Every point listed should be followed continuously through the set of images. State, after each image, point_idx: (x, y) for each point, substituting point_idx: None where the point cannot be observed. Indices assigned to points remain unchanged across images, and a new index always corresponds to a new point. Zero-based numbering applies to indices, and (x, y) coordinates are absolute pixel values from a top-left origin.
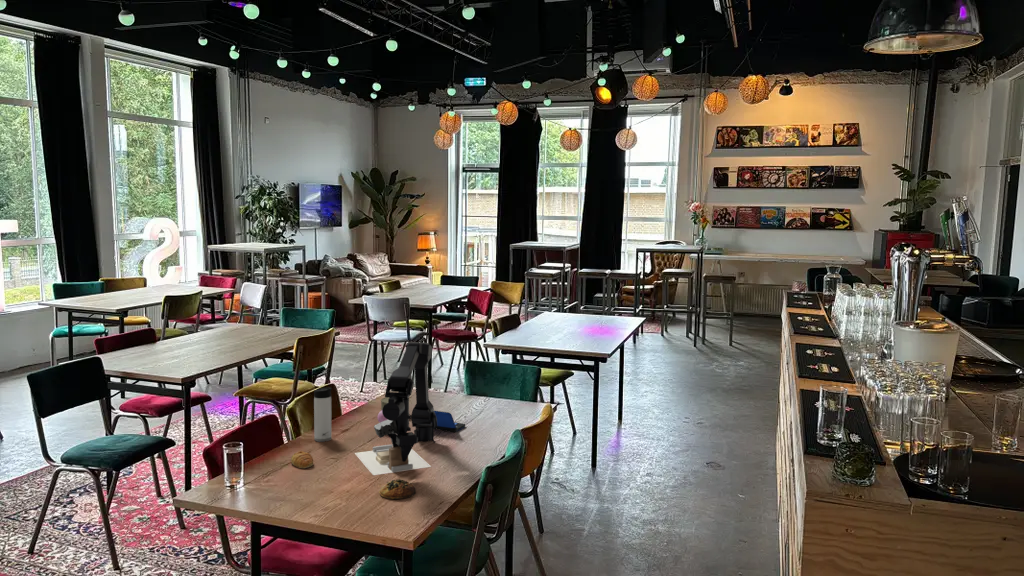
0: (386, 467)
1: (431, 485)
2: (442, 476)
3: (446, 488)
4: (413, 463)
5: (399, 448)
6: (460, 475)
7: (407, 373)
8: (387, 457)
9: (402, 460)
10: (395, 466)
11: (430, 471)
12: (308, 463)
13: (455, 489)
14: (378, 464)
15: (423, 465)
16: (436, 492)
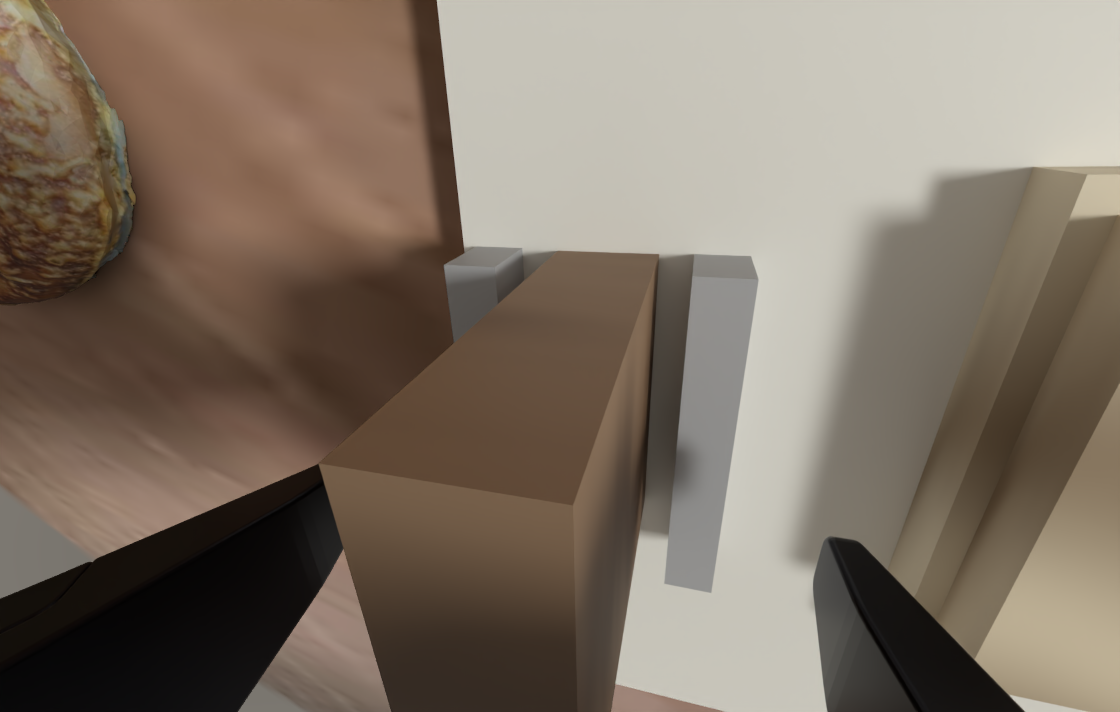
0: (727, 228)
1: (167, 457)
2: (340, 603)
3: (119, 509)
4: (685, 594)
5: (398, 700)
6: (338, 683)
7: None
8: (1070, 386)
9: (315, 466)
10: None
11: None
12: None
13: (107, 540)
14: (1017, 122)
15: None
16: (43, 423)
